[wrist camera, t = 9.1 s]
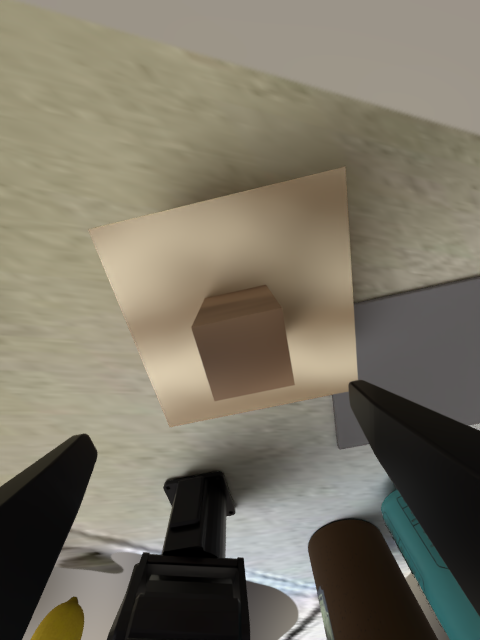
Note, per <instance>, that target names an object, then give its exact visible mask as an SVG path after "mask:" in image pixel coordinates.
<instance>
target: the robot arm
mask: <svg viewBox="0 0 480 640" xmlns="http://www.w3.org/2000/svg"><path fill="white" fill-rule="evenodd" d="M348 388H349V402H350V407H351V409H352V411H353V413H354V415H355V417H356V419H357V421H358V423H359V425H360V427H361V429H362V431H363V433H364V435H365V437H366V438H367V440H368V442H369V444H370V446H371V448H372V450H373V452H374V454H375V455H376V457H377V459H378V460H379V462H380V464H381V465H382V467H383V468H384V470H385V471H386V473H387V474H388V476H389V477H390V479H391V481H392V482H393V484H394V485H395V487H396V488H397V490H398V491H399V493H400V494H401V496H402V498H403V499H404V501H405V502H406V504H407V505H408V507H409V508H410V510H411V511H412V513H413V515H414V516H415V518H416V519H417V521H418V522H419V524H420V525H421V527H422V529H423V530H424V532H425V533H426V535H427V536H428V538H429V539H430V541H431V542H432V544H433V546H434V547H435V549H436V550H437V552H438V553H439V555H440V556H441V558H442V559H443V561H444V563H445V564H446V566H447V567H448V569H449V570H450V572H451V573H452V575H453V576H454V578H455V580H456V581H457V583H458V584H459V586H460V587H461V589H462V590H463V592H464V593H465V595H466V597H467V598H468V600H469V601H470V603H471V604H472V606H473V607H474V609H475V610H476V612H477V614H478V615H479V617H480V431H479V430H477V429H475V428H472V427H470V426H468V425H466V424H463V423H461V422H459V421H456V420H454V419H452V418H449V417H447V416H445V415H443V414H440V413H438V412H436V411H433V410H431V409H429V408H426V407H424V406H422V405H420V404H417V403H415V402H413V401H410V400H408V399H406V398H403V397H401V396H399V395H397V394H394V393H392V392H390V391H387V390H385V389H383V388H380V387H378V386H376V385H374V384H371V383H369V382H367V381H364V380H355V381H351V382H349V385H348ZM96 460H97V450H96V448H95V446H94V444H93V442H92V441H91V439H90V437H89V435H87V434H79V435H75V436H72V437H71V438H69V439H68V440H66V441H65V442H63V443H62V444H61V445H59V446H58V447H56V448H55V449H53V450H52V451H51V452H49V453H48V454H46V455H45V456H44V457H42V458H41V459H39V460H38V461H36V462H35V463H34V464H32V465H31V466H29V467H28V468H26V469H25V470H24V471H22V472H21V473H19V474H18V475H16V476H15V477H14V478H12V479H11V480H9V481H8V482H7V483H5V484H4V485H2V486H1V487H0V640H22V638H23V636H24V634H25V632H26V629H27V627H28V625H29V622H30V620H31V618H32V615H33V613H34V611H35V609H36V607H37V604H38V602H39V600H40V597H41V595H42V593H43V590H44V588H45V586H46V583H47V581H48V579H49V577H50V575H51V572H52V570H53V568H54V566H55V563H56V561H57V559H58V556H59V554H60V552H61V550H62V547H63V545H64V543H65V540H66V538H67V536H68V534H69V531H70V529H71V527H72V524H73V522H74V520H75V518H76V515H77V513H78V510H79V508H80V505H81V503H82V500H83V497H84V494H85V491H86V488H87V485H88V483H89V480H90V477H91V474H92V471H93V468H94V465H95V463H96ZM163 488H164V491H165V493H166V495H167V497H168V499H169V501H170V503H171V505H172V510H171V514H170V519H169V523H168V528H167V532H166V537H165V541H164V546H163V550H162V554H161V555H157V554H150V553H147V552H143V554H142V557H141V560H140V563H138V564H136V565H135V566H134V569H133V572H132V576H131V579H130V582H129V586H128V589H127V592H126V594H125V597H124V599H123V602H122V604H121V606H120V609H119V611H118V613H117V615H116V618H115V620H114V622H113V625H112V627H111V629H110V632H109V635H108V638H107V640H250V622H249V610H248V600H247V590H246V578H245V568H244V558H240V557H237V559H232V558H225V551H226V516H231V515H234V514H235V506H234V503H233V500H232V497H231V494H230V491H229V488H228V485H227V482H226V479H225V476H224V474H223V473H222V472H220V471H219V472H213V473H208V474H202V475H197V476H192V477H186V478H181V479H176V480H170V481H166V482H165V484H164V487H163Z"/></svg>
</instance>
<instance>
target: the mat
mask: <svg viewBox="0 0 480 640" xmlns="http://www.w3.org/2000/svg"><path fill="white" fill-rule="evenodd" d="M353 304H354V321H355V338H356V355H357V372H358V380H364V381H367V382H369V383H371V384H374V385H376V386H378V387H380V388H383V389H385V390H387V391H390V392H392V393H394V394H397V395H399V396H401V397H403V398H406V399H408V400H410V401H413V402H415V403H417V404H420V405H422V406H424V407H426V408H429V409H431V410H433V411H436V412H438V413H440V414H443V415H445V416H447V417H449V418H452V419H454V420H456V421H459V422H461V423H463V424H466V425H473V424H478V423H480V276H478V277H474V278H469V279H465V280H460V281H455V282H451V283H446V284H441V285H437V286H432V287H427V288H423V289H418V290H414V291H409V292H404V293H400V294H395V295H390V296H386V297H381V298H377V299H372V300H367V301H363V302H358V303H353ZM332 398H333V407H334V417H335V427H336V436H337V446H338V448H339V449H345V448H351V447H356V446H361V445H366V444H369V442H368V440H367V438H366V437H365V435H364V433H363V431H362V429H361V427H360V425H359V423H358V421H357V419H356V417H355V415H354V413H353V411H352V409H351V407H350V402H349V391H348V392H343V393H338V394H333V395H332Z"/></svg>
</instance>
